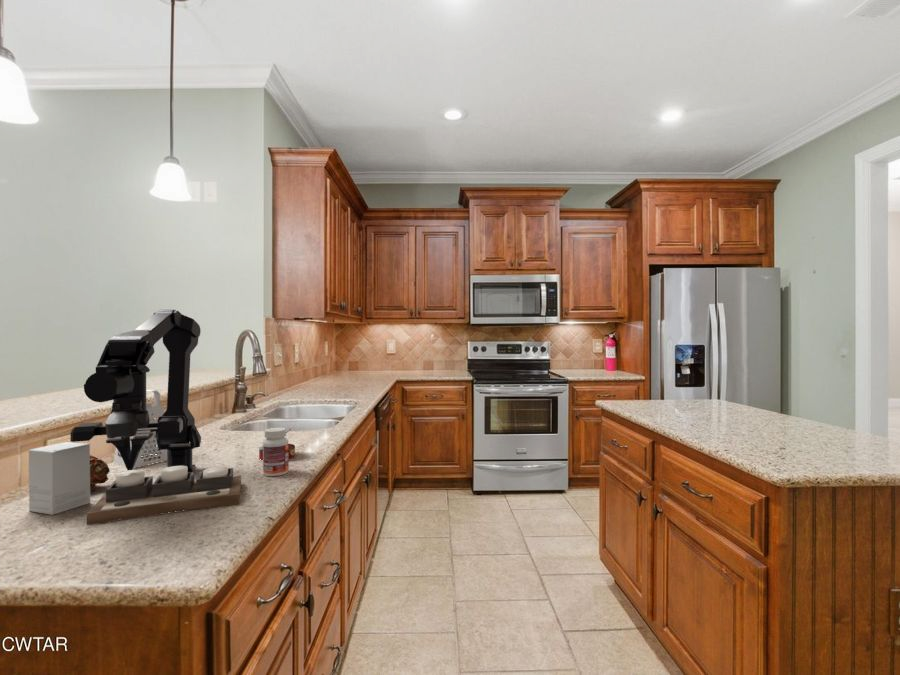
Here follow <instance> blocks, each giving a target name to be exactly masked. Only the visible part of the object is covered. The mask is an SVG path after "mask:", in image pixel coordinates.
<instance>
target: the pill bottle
mask: <svg viewBox="0 0 900 675" xmlns="http://www.w3.org/2000/svg"><path fill="white" fill-rule="evenodd" d="M286 432H287V428H285V427H271V428H266V429H264V438H265V439H264V440H263V441H262V442H263V443H262V446H263V461H262V473H263V475H264V476H266V477H279V476H284V475H285V474H288V472H289V459H288V444H289V439H287V437H286V436H287V433H286Z"/></svg>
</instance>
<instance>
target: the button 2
mask: <svg viewBox="0 0 900 675" xmlns="http://www.w3.org/2000/svg"><path fill="white" fill-rule="evenodd" d="M202 471H203V479H204V478H213V477H222V476H228V467H225V466H215V467H214V466H213V467H210V468H206V469H204V470H202Z"/></svg>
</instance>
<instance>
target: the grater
mask: <svg viewBox="0 0 900 675" xmlns="http://www.w3.org/2000/svg"><path fill="white" fill-rule="evenodd" d="M146 392H152V393H153V403H146V410H147V411H148V413H149V423H157V420H158V418H159V417H160V416H162V415H163V414H164V413H165V406H164V404H163V405H162V404H161V392H159V391H158V390H157V389H146ZM152 433H153V436H152V437H151V438H149V439H148V440H145V442H144V444H143V446H142V448H141V450H140V453H139V455H138V458H137V460H136V463H135V465H134V467H138V468H140V467H139V466H143V465H148V464H152V463H156V462H161V461H166V460H167V449H166V450H158V445H157V440H156V431H153V432H152ZM133 437H135V435H134V436H132V437H130V447H132V445H131V439H132V438H133ZM150 454H154V455H152V456H150ZM155 454H157V455H155ZM146 455H149V456H147V457H146ZM141 456H144V457H142V458H141ZM159 456H161V457H160V458H159ZM113 457H114V458H113V464H114V465H117V466H120V465H121V466H120V467H123V466H125V463H124V461H123V459H122V457H121V454H120V453H119V451H118V449H117V448H116V447H115V452H114V456H113ZM154 458H155V459H154ZM149 459H151V460H149ZM145 460H146V461H145ZM166 462H167V461H166ZM161 463H162V462H161ZM152 465H153V464H152ZM148 466H149V465H148ZM143 467H144V466H143ZM124 468H126V466H125V467H124Z"/></svg>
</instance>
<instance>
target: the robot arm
mask: <svg viewBox="0 0 900 675" xmlns="http://www.w3.org/2000/svg"><path fill="white" fill-rule="evenodd" d="M200 336H201V327H200V324H199V323H198V322H197V320H195V319H194V318H191V317H190V316H187V315H184V314H182V313H181V312H180V311H179V310H176V309H158V310H155V311H154V312H153V314H152V315H151V316H150V317H149V318H147V319H146V320H145V321H144V322H142V323H141V324H140V325H138V326H137V327H136V328H135V329H134V330H131V331H125V332H121V333H118V334H116V335H114V336H112V337H110V338H109V339H108V340H107V343H106V344H105V347H104V349H103V351H102V353H101V356H100V358H99V360H98V363H97V364H96V366H95V372H94V373H92V374H91V375H89V377H88V378H87V379H86V380H85V382H84V384H83V391H84V394H85V396H86V397H87V399H89V400H91V401H93V402H95V403H105V402H110V401H112V403H111V404H112V406H111V411H110V413H109V415H108V417H107V419H105V423H104V424H105V425H104V424H103V422H102V421H98V422H84V423H80V424H78V425H75V426H74V427H73V428H72V429H71V430H70V442H72V443H79V442H89V441H90V440H92V439H93V438H94V437H95V436H106V438H107V439H106V440H105V443H106V444H112V445H113V446H114V447H115V449H116V448H117V449H118V451H119V453H120V454H121V457H122V459H123V461H124V463H125V466H126V467H125V468H126V469H127V470H126V471H130V470H134V469H135V468H134V465H135V463H136V460H137V458H138V455H139V453H140V450H141V448H142V446H143V444H144V442H145V440H148V439H149V438H151V437H152V436H153V433H152V432H153V431H156V440H157V445H158V450H166V449H167V461H166V465H167V466H166V468H167V467H172V466H187V467H188V473H189V472H194V470H195V468H196V464H193V449H194V450H195V449H197V448H200V447H201V442H202V436H201V434H200V432H199V430H198V428H197V427H196V422H195V417H194V416H193V414H192V413H191V411H190V409H189V397H190V396H189V395H190V394H189V393H190V372H191V369H190V368H191V354H192V352H193V351H194V350H195V349H196V348H197V346H198V344H199V338H200ZM161 339H162V344H163V346H164V347H165V348H166V350H167V351H168V353H169V354H168V355H169V357H168V376H167V397H166V398H167V400H166V410H164V412H165V413H164V414H163V415H162V416H160V417H159V418H157V423H149V413H148V411H147V410H146V404H148V400H147V391H146V390H147V373H149V372H151V369H150V368H149V367H148V366H147V365H148V363H149V361H150V360H151V358H152V357H153V355H154V354H155V352H156V351H155V347H154V346H155V344H156V343H158V342H159V341H160V340H161ZM134 435H135V437H133V438H132V439H131V445H132V447H130V437H132V436H134ZM157 445H156V446H157ZM133 468H134V469H133Z"/></svg>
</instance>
